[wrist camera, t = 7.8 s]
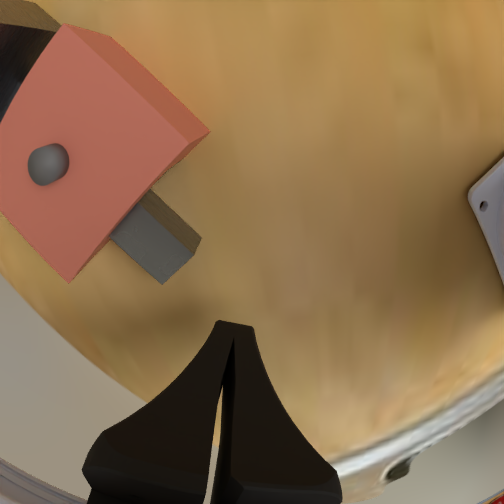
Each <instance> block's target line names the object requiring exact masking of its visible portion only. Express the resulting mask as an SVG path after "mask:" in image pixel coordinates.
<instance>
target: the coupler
mask: <svg viewBox="0 0 504 504" xmlns="http://www.w3.org/2000/svg"><path fill="white" fill-rule="evenodd" d="M60 27H61V25H60V24H59V23H58V22H57V21H55V20H54V19H53V18H52V17H51V16H50V15H48V14H47V13H46V12H45V11H44V10H43V9H41V8H40V7H39V6H38V5H37V4H36V3H33V2H29V1H24V0H0V123H1V121H2V119H3V117H4V115H5V113H6V111H7V109H8V108H9V106H10V104H11V102H12V100H13V98H14V97H15V95H16V93H17V91H18V90H19V88H20V86H21V85H22V83H23V81H24V80H25V78H26V76H27V75H28V73H29V72H30V70H31V68H32V67H33V65H34V64H35V62H36V61H37V59H38V58H39V56H40V55H41V53H42V52H43V50H44V49H45V48H46V46H47V45H48V43H49V42H50V41H51V39H52V38H53V37H54V35H55V34H56V33H57V31H58V30H59V29H60ZM109 237H110V238H111V239H112V240H113V241H114V242H115V243H116V244H117V245H118V246H119V247H121V248H122V249H123V250H124V251H125V252H126V253H127V254H128V255H129V256H130V257H131V258H133V259H134V260H135V261H136V262H137V263H138V264H139V265H140V266H141V267H142V268H144V269H145V270H146V271H147V272H148V273H149V274H150V275H151V276H153V277H154V278H155V279H156V280H157V281H158V282H159V283H161V284H162V285H163V284H164V283H165V282H166V281H167V280H168V279H169V278H170V277H171V276H172V275H173V274H174V273H175V272H176V271H177V270H179V269H180V268H181V267H182V266H183V265H184V264H185V263H186V262H187V261H188V260H189V259H190V258H191V257H192V256H194V254H195V252H196V250H197V247H198V245H199V243H200V241H201V237H200V236H199V235H198V234H197V233H196V232H195V231H194V230H193V229H192V228H191V227H190V226H189V225H188V224H186V223H185V222H184V221H183V220H182V219H181V218H180V217H179V216H178V215H177V214H176V213H175V212H174V211H173V210H172V209H171V208H170V207H169V206H167V205H166V204H165V203H164V202H163V201H162V200H161V199H160V198H159V197H158V196H157V195H156V194H155V193H154V192H153V191H152V190H151V189H149V190H148V191H147V192H146V193H145V194H144V195H143V197H142V198H141V199H140V200H139V201H138V202H137V203H136V204H135V206H134V207H133V208H132V209H131V210H130V211H129V212H128V214H127V215H126V216H125V217H124V218H123V219H122V221H121V222H120V223H119V224H118V225H117V226H116V228H115V229H114V230H113V231H112V232H111V234H110V235H109Z"/></svg>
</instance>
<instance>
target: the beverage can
mask: <svg viewBox="0 0 504 504" xmlns="http://www.w3.org/2000/svg"><path fill="white" fill-rule="evenodd" d="M490 504H504V494H503V495H501V496H499V497H498V498H496V499H495V500H493V501H492V502H491V503H490Z"/></svg>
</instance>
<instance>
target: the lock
mask: <svg viewBox="0 0 504 504" xmlns="http://www.w3.org/2000/svg"><path fill="white" fill-rule="evenodd" d="M209 133H210V131H209V130H208V129H207V127H206V126H205V125H204V124H203V123H202V122H201V121H200V120H198V119H197V118H196V117H195V116H194V115H193V114H192V113H191V112H190V111H189V110H188V109H187V108H186V107H185V106H184V105H183V104H182V103H181V102H180V101H179V100H178V99H177V98H176V97H175V96H174V95H173V94H172V93H171V92H170V91H169V90H168V89H167V88H166V87H165V86H164V85H163V84H162V83H160V82H159V81H158V80H157V79H156V78H155V77H154V76H153V75H152V74H151V73H150V72H149V71H148V70H147V69H146V68H145V67H143V66H142V65H141V64H140V63H139V62H138V61H137V60H136V59H135V58H134V57H133V56H132V55H130V54H129V53H128V52H127V51H126V50H125V49H124V48H123V47H122V46H121V45H119V44H118V43H117V42H116V41H115V40H114V39H113V38H112V37H110V36H107V35H103V34H100V33H97V32H94V31H90V30H87V29H83V28H80V27H76V26H72V25H69V24H65V23H63V25H62V26H61V27H60V29H59V30H58V31H57V33H56V34H55V35H54V37H53V38H52V39H51V41H50V42H49V43H48V45H47V46H46V48H45V49H44V50H43V52H42V53H41V55H40V56H39V58H38V59H37V61H36V62H35V64H34V65H33V67H32V68H31V70H30V72H29V73H28V75H27V76H26V78H25V80H24V81H23V83H22V85H21V86H20V88H19V90H18V91H17V93H16V95H15V97H14V98H13V100H12V102H11V104H10V106H9V108H8V109H7V111H6V113H5V115H4V117H3V119H2V121H1V123H0V211H1V212H2V213H3V215H4V216H5V217H6V218H7V219H8V220H9V222H10V223H11V224H12V225H13V226H14V227H15V228H16V230H17V231H18V232H19V233H20V234H21V235H22V236H23V237H24V238H25V240H26V241H27V242H28V243H29V244H30V245H31V246H32V247H33V248H34V249H35V250H36V251H37V252H38V253H39V254H40V256H41V257H42V258H43V259H44V260H45V261H46V262H47V263H48V264H49V265H50V266H51V267H52V268H53V269H54V270H55V271H56V272H57V273H58V274H59V275H60V276H61V277H62V278H63V279H64V280H65V281H66V282H68V283H70V282H71V281H72V280H73V279H74V278H75V276H76V275H77V274H78V273H79V272H80V271H81V270H82V269H83V268H84V267H85V266H86V264H87V263H88V262H89V261H90V260H91V259H92V258H93V257H94V256H95V255H96V254H97V253H98V252H99V251H100V250H101V249H102V248H103V247H104V246H105V244H106V243H107V242H108V241H109V240H110V239H111V238H110V237H109V235H110V234H111V232H112V231H113V230H114V229H115V228H116V226H117V225H118V224H119V223H120V222H121V221H122V219H123V218H124V217H125V216H126V215H127V214H128V212H129V211H130V210H131V209H132V208H133V207H134V206H135V204H136V203H137V202H138V201H139V200H140V199H141V198H142V197H143V195H144V194H145V193H146V192H147V191H148V190H149V189H150V188H151V187H152V186H153V185H154V183H155V182H156V181H157V180H158V179H159V178H160V177H161V176H162V175H163V174H164V173H165V172H166V171H167V170H168V169H169V168H171V167H172V166H174V165H175V164H176V163H178V162H179V161H180V160H182V159H183V158H184V157H185V156H186V155H187V154H188V153H189V152H190V151H191V150H192V149H193V148H194V147H195V146H196V145H197V144H198V143H199V142H200V141H201V140H202V139H203V138H205V137H206V136H207V135H208V134H209Z"/></svg>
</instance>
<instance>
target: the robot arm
mask: <svg viewBox="0 0 504 504" xmlns="http://www.w3.org/2000/svg"><path fill="white" fill-rule="evenodd" d="M468 201H469V203H470V205H471V207H472V210H473V212H474V214H475V216H476V218H477V220H478V222H479V225H480V227H481V229H482V231H483V234H484V236H485V238H486V241H487V243H488V245H489V248H490V250H491V253H492V255H493V258H494V260H495V263H496V266H497V268H498V271H499V274H500V276H501V279H502V282H503V285H504V157H503V158H502V159H501V160H500V161H499V162H498V163H497V164H496V165H495V166H493V167H492V168H491V169H490V170H489V171H488V172H487V173H486V174H485V175H484V176H483V177H482V178H481V179H480V180H479V181H478V182H477V183H475V184H474V185H473V186H472V187H471V189H470V190H469V193H468ZM482 201H483V202H484V203H483V206H482V207H481V208H480V204H481V202H482ZM222 386H223V394H222V414H221V434H220V444H219V451H218V458H217V464H216V470H215V477H214V483H213V489H212V495H211V502H210V504H340V503H341V502H342V489H341V485H340V481H339V478H338V474H337V471H336V470H335V469H334V468H333V467H332V466H331V465H330V464H329V463H328V462H326V461H325V460H324V459H323V458H322V457H321V455H320V454H319V453H318V452H317V451H316V450H315V449H314V448H313V447H312V446H311V444H310V443H309V442H308V441H307V440H306V438H305V437H304V436H303V434H302V433H301V432H300V430H299V429H298V428H297V426H296V425H295V424H294V422H293V421H292V419H291V418H290V416H289V415H288V413H287V412H286V410H285V408H284V407H283V405H282V403H281V401H280V400H279V398H278V396H277V394H276V392H275V390H274V388H273V386H272V384H271V381H270V379H269V377H268V374H267V372H266V369H265V367H264V364H263V361H262V359H261V356H260V352H259V349H258V346H257V342H256V337H255V332H254V328H253V327H252V326H247V325H242V324H237V323H232V322H226V321H222V320H218V321H216V322H215V325H214V328H213V330H212V332H211V334H210V335H209V337H208V339H207V340H206V342H205V343H204V345H203V346H202V348H201V349H200V350H199V352H198V353H197V355H196V356H195V357H194V359H193V360H192V361H191V362H190V363H189V364H188V366H187V367H186V368H185V369H184V370H183V372H182V373H181V374H180V375H179V376H178V377H177V378H176V379H175V380H174V381H173V382H172V383H171V384H170V385H169V386H168V387H167V388H166V389H164V390H163V391H162V392H161V393H160V394H159V395H158V396H156V397H155V398H154V399H153V400H151V401H150V402H149V403H148V404H146V405H145V406H144V407H142V408H141V409H139V410H138V411H136V412H135V413H133V414H132V415H130V416H129V417H127V418H126V419H124V420H122V421H121V422H119V423H117V424H115V425H113V426H112V427H110V428H108V429H106V430H104V431H103V432H102V433H101V434H100V436H99V437H98V438H97V440H96V441H95V442H94V444H93V445H92V447H91V449H90V451H89V452H88V455H87V458H86V460H85V463H84V465H83V468H82V472H83V475H84V476H85V478H86V480H87V481H88V483H89V484H90V486H91V488H92V489H91V493H90V495H89V498H88V501H87V500H85V499H82V498H80V497H77V496H75V495H72V494H70V493H68V492H66V491H63V490H61V489H59V488H57V487H54V486H52V485H50V484H48V483H46V482H44V481H42V480H40V479H38V478H36V477H34V476H32V475H30V474H28V473H26V472H24V471H23V470H21V469H19V468H17V467H15V466H14V465H12V464H10V463H8V462H6V461H5V460H3V459H1V458H0V504H203V502H204V498H205V495H206V489H207V482H208V475H209V465H210V458H211V449H212V441H213V434H214V426H215V419H216V412H217V405H218V401H219V397H220V394H221V390H222Z"/></svg>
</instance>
